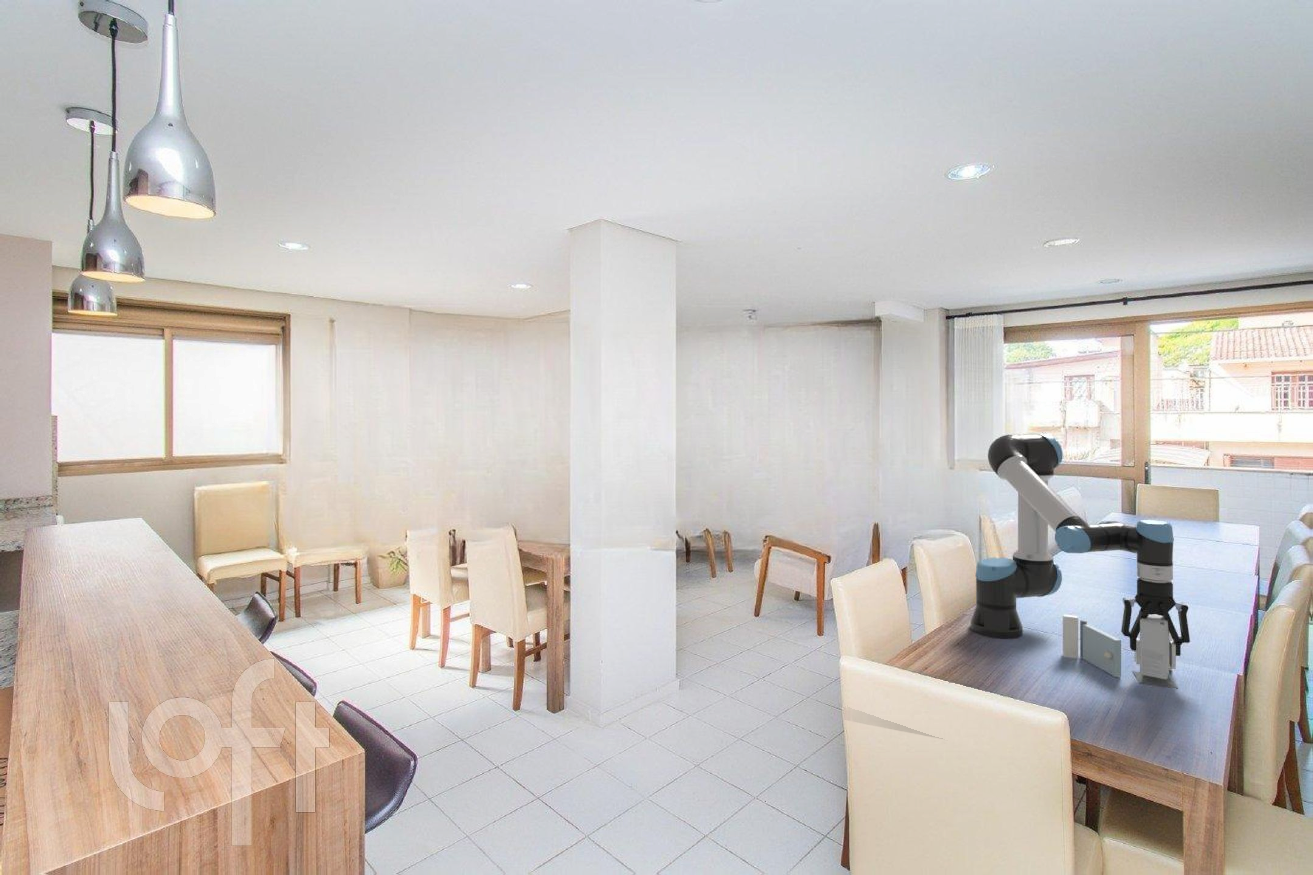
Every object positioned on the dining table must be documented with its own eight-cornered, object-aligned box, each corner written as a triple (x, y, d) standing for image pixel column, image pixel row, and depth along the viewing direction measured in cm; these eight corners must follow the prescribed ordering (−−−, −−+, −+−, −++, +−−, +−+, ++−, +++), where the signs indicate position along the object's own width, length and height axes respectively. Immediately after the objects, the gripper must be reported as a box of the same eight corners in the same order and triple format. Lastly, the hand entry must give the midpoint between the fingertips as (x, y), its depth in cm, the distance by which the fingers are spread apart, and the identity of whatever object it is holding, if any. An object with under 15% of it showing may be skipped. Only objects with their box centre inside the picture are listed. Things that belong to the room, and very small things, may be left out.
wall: (1063, 656, 184) (1063, 616, 183) (1062, 654, 185) (1062, 614, 185) (1172, 670, 172) (1172, 627, 172) (1170, 667, 174) (1170, 625, 173)
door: (1073, 656, 183) (1073, 620, 183) (1084, 655, 183) (1084, 620, 183) (1109, 676, 168) (1109, 638, 168) (1121, 676, 168) (1121, 637, 168)
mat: (1139, 683, 165) (1139, 682, 165) (1132, 671, 172) (1132, 670, 172) (1177, 688, 161) (1177, 687, 161) (1169, 676, 168) (1169, 675, 168)
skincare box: (1142, 665, 172) (1141, 611, 171) (1171, 670, 168) (1169, 615, 167) (1139, 675, 165) (1138, 619, 165) (1169, 680, 161) (1167, 623, 161)
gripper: (1112, 579, 167) (1112, 663, 168) (1207, 586, 158) (1207, 676, 159) (1106, 572, 174) (1107, 654, 174) (1197, 579, 165) (1197, 665, 165)
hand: (1154, 664), depth 167 cm, fingers closed on skincare box, 7 cm apart
